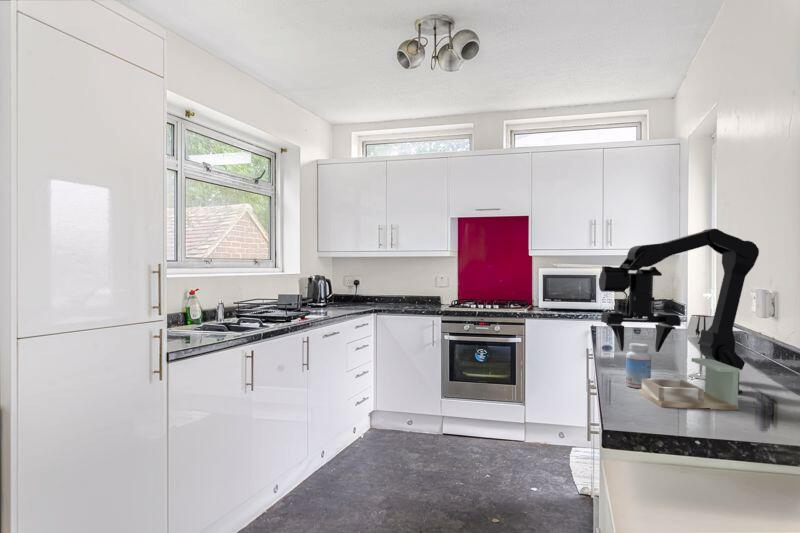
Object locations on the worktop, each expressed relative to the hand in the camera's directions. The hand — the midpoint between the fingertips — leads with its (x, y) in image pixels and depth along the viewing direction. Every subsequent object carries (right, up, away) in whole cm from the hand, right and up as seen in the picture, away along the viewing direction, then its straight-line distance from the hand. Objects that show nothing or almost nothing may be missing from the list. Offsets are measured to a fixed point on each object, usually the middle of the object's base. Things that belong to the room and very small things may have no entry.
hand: (639, 351), depth 141 cm
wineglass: (+25, -10, +15) cm, 30 cm away
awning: (+11, -10, -15) cm, 21 cm away
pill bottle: (0, -10, 0) cm, 10 cm away
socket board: (+5, -10, -14) cm, 18 cm away
